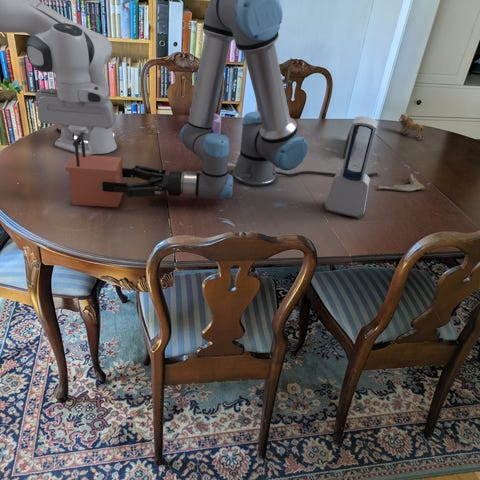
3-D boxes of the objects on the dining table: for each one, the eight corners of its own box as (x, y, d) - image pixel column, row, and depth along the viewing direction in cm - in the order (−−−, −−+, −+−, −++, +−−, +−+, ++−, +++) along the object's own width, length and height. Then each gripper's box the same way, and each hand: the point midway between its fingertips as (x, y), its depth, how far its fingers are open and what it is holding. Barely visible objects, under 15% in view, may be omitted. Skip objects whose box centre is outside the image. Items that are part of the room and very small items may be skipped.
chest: (72, 204, 138) (68, 171, 133) (80, 190, 146) (77, 158, 140) (117, 207, 139) (115, 174, 134) (123, 192, 147) (121, 161, 142)
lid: (66, 171, 132) (62, 142, 128) (74, 158, 140) (71, 130, 136) (115, 174, 134) (114, 145, 129) (121, 161, 142) (120, 133, 137)
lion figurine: (393, 132, 222) (398, 113, 217) (398, 130, 225) (403, 111, 221) (423, 141, 214) (429, 122, 210) (427, 139, 218) (433, 120, 213)
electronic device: (364, 210, 152) (388, 120, 136) (361, 221, 146) (387, 128, 130) (327, 201, 155) (346, 112, 139) (322, 211, 149) (342, 119, 133)
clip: (182, 123, 206) (183, 107, 202) (209, 122, 210) (210, 106, 207) (197, 140, 191) (197, 123, 187) (225, 138, 195) (226, 122, 191)
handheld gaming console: (349, 160, 187) (354, 136, 182) (342, 158, 188) (347, 134, 183) (355, 142, 206) (361, 119, 201) (349, 140, 207) (354, 118, 201)
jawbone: (429, 189, 172) (431, 184, 171) (394, 201, 161) (396, 196, 160) (410, 177, 177) (412, 172, 176) (375, 189, 167) (376, 184, 165)
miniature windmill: (286, 130, 210) (297, 60, 194) (268, 127, 211) (277, 58, 195) (288, 124, 218) (299, 56, 202) (271, 121, 219) (279, 54, 203)
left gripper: (30, 90, 122) (37, 141, 129) (110, 97, 123) (113, 146, 131) (38, 84, 127) (45, 133, 134) (114, 90, 128) (117, 138, 136)
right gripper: (178, 212, 134) (99, 207, 132) (183, 179, 152) (114, 174, 151) (179, 189, 130) (97, 184, 128) (184, 157, 148) (112, 152, 147)
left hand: (79, 139), depth 132 cm, fingers open, 3 cm apart
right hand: (106, 178), depth 139 cm, fingers closed on chest, 9 cm apart
